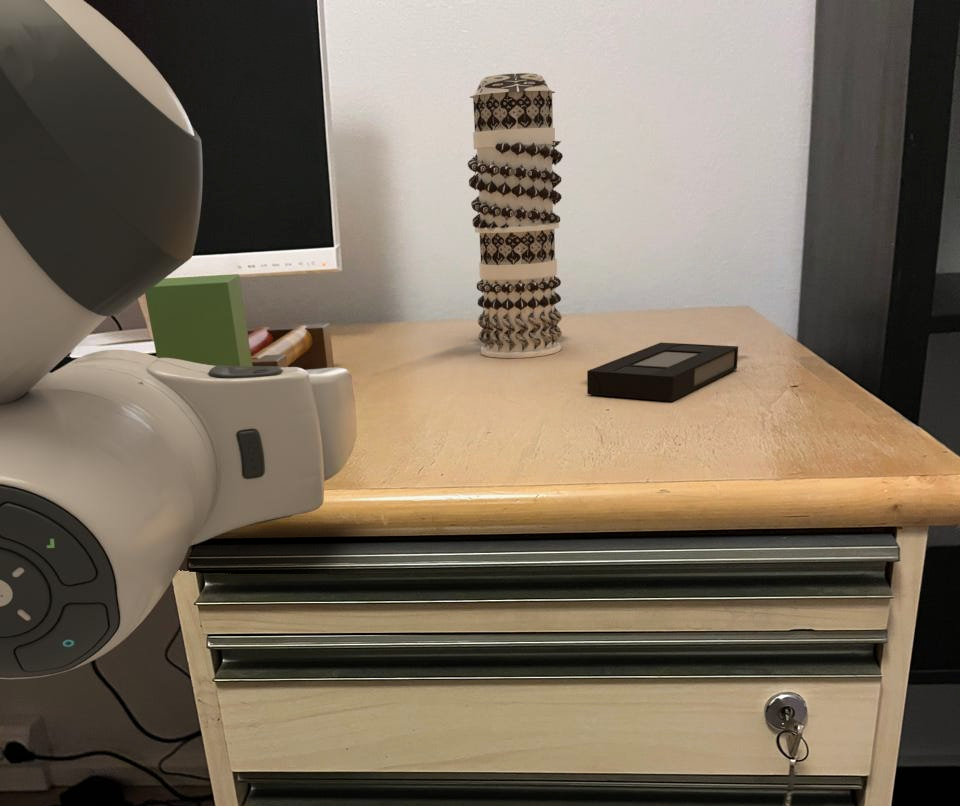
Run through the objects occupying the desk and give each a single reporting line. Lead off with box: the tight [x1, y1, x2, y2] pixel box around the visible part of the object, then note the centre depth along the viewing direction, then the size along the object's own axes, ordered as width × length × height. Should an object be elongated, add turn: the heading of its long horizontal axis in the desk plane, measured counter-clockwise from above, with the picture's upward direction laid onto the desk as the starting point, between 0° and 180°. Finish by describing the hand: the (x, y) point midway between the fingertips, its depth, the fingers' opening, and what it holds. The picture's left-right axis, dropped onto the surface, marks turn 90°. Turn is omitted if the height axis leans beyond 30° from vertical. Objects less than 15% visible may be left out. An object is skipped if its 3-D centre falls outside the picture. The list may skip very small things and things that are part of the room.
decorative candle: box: [467, 72, 564, 359], centre depth 97 cm, size 9×9×25 cm
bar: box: [144, 273, 252, 366], centre depth 64 cm, size 5×5×12 cm
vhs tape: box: [586, 342, 739, 402], centre depth 84 cm, size 8×14×2 cm, turn 146°
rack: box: [247, 322, 335, 370], centre depth 85 cm, size 8×20×5 cm, turn 177°
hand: (182, 393), depth 57 cm, fingers open, 8 cm apart
